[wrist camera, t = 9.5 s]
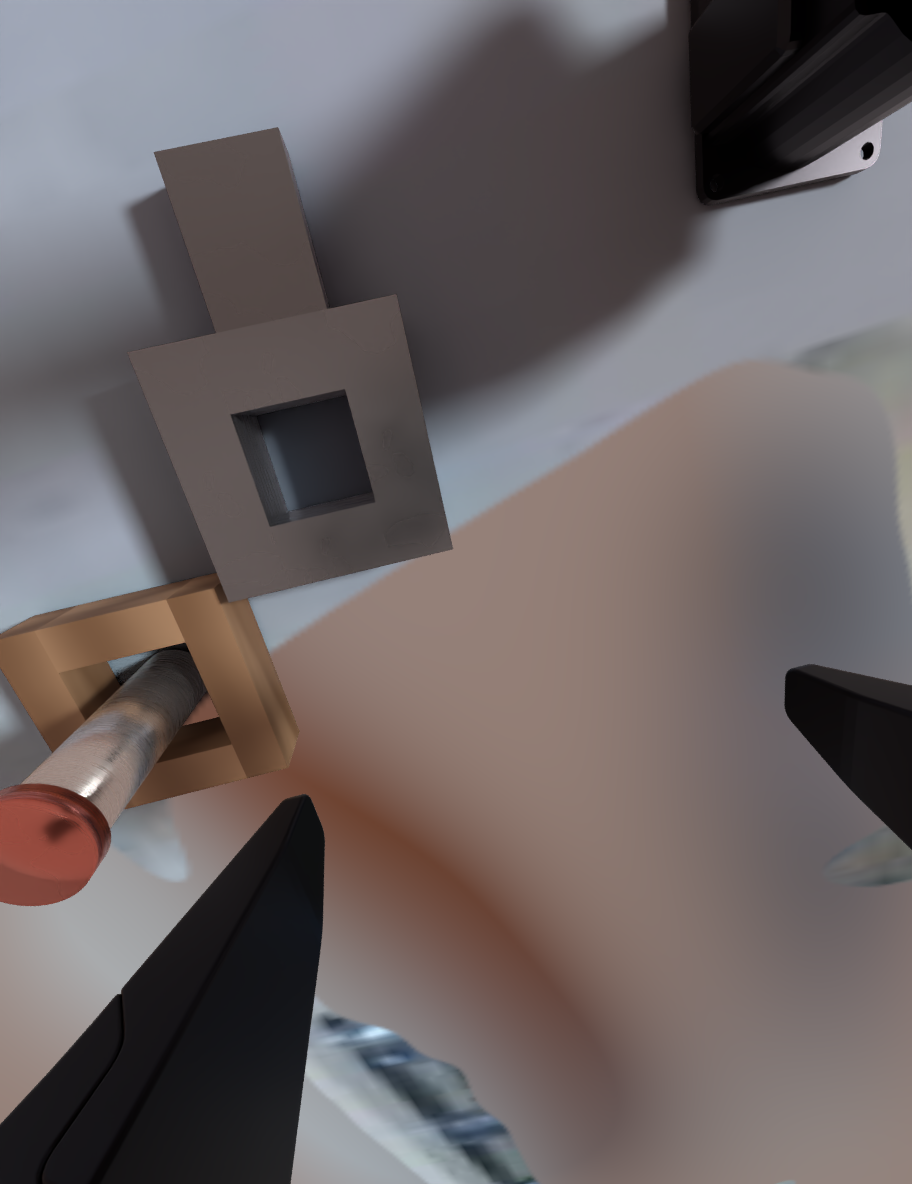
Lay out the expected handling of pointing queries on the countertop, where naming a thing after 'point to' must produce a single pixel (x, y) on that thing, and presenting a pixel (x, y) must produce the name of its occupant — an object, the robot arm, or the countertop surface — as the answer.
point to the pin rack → (143, 623)
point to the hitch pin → (91, 783)
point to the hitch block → (282, 382)
